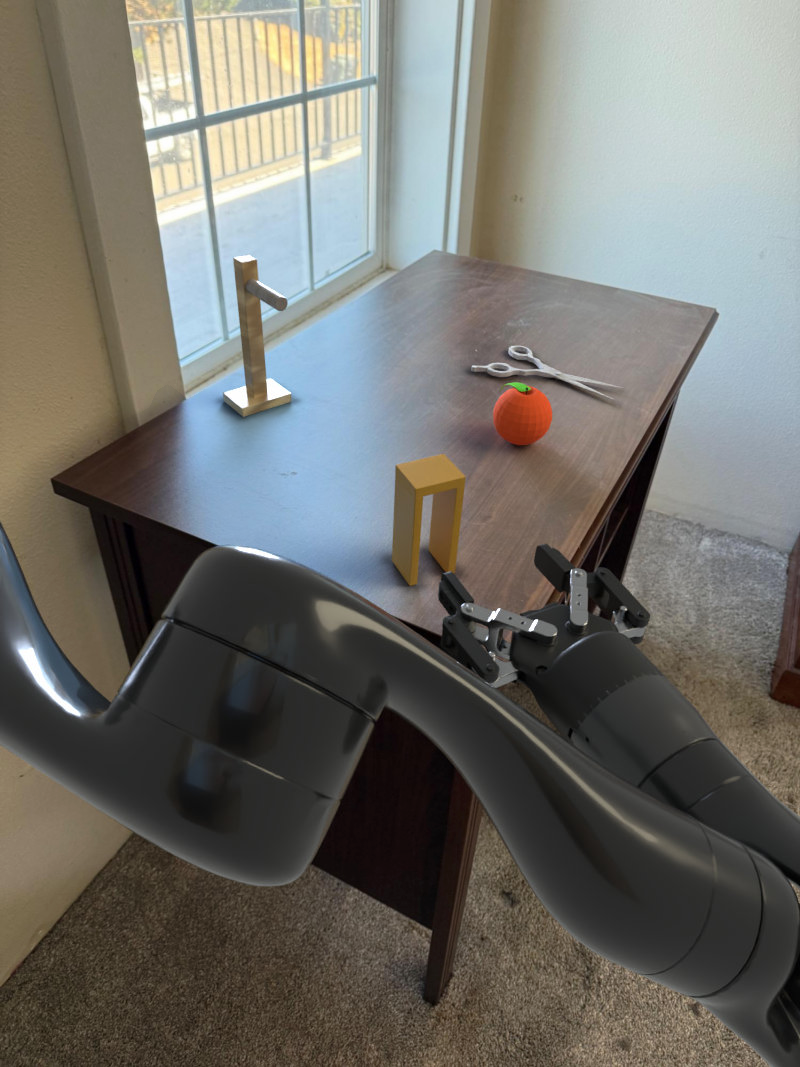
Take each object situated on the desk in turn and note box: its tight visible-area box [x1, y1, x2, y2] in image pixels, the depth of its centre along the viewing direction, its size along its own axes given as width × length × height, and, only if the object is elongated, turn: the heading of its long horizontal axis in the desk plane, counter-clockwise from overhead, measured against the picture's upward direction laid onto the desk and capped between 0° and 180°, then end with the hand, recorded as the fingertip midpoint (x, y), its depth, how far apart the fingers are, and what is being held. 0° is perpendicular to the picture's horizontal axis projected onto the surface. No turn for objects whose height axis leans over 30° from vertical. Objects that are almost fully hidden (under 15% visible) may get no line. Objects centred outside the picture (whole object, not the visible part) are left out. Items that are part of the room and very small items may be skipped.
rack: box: [222, 254, 293, 418], centre depth 88 cm, size 7×10×18 cm
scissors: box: [471, 345, 624, 401], centre depth 103 cm, size 11×1×20 cm
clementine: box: [492, 381, 553, 446], centre depth 88 cm, size 8×7×7 cm
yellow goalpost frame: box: [391, 453, 467, 587], centre depth 68 cm, size 5×4×11 cm
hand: (492, 566), depth 58 cm, fingers open, 8 cm apart
